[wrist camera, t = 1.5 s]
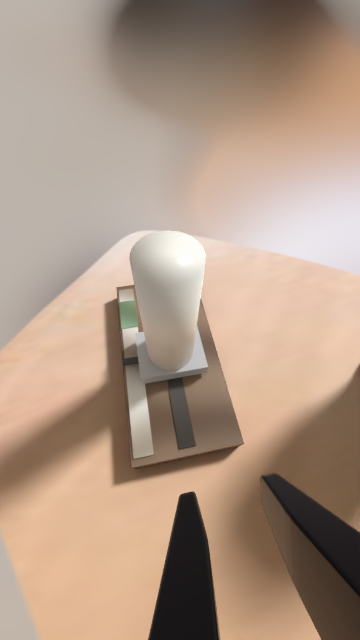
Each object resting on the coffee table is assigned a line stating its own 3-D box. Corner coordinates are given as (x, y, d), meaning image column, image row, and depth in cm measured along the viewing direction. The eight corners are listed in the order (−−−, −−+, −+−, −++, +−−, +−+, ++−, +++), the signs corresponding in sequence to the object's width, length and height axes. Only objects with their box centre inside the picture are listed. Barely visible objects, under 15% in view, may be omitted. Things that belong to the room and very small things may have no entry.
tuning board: (239, 446, 20) (244, 443, 19) (134, 469, 19) (131, 467, 18) (193, 286, 28) (194, 275, 27) (119, 296, 27) (116, 286, 26)
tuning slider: (206, 372, 21) (233, 280, 12) (125, 387, 20) (83, 300, 11) (195, 330, 23) (210, 223, 14) (121, 342, 22) (83, 237, 13)
